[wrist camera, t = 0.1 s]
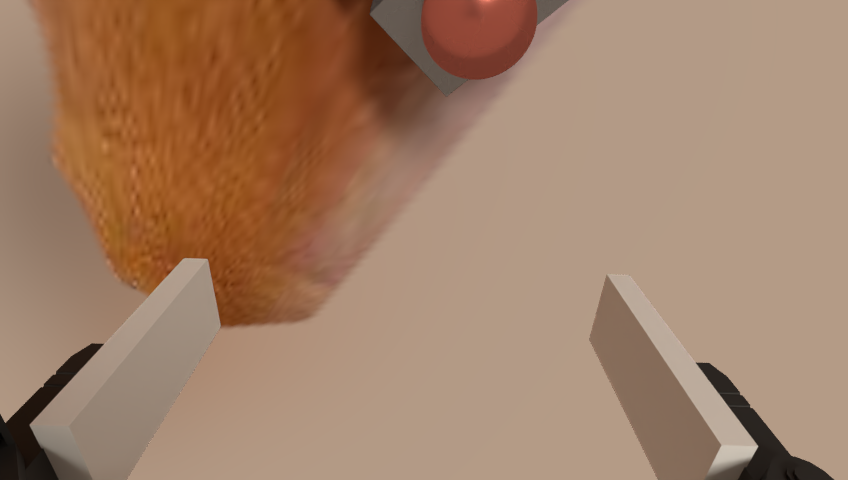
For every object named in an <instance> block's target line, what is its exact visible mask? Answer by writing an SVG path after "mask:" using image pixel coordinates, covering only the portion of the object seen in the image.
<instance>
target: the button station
mask: <svg viewBox="0 0 848 480" xmlns="http://www.w3.org/2000/svg"><path fill="white" fill-rule="evenodd" d="M567 1H568V0H373V2H372V6H371V10H370V15H371V16H372V17H373V19H374V20H375V21H376V22H377V23H378V24H379V25H380V26H381V27H382V28H383V29H384V30H385V31H386V32H387V34H388V35H389V36H390V37H391V38H392V39H393V40H394V41H395V42H396V43H397V44H398V45H399V46H400V47H401V49H402V50H403V51H404V52H405V53H406V54H407V55H408V56H409V57H410V58H411V59H412V60H413V61H414V62H415V64H416V65H417V66H418V67H419V68H420V69H421V70H422V71H423V72H424V73H425V74H426V75H427V76H428V77H429V79H430V80H431V81H432V82H433V83H434V84H435V85H436V86H437V87H438V88H439V89H440V90H441V91H442V92H443V94H444V95H445V96H446V97H447V96H448V95H449V94H450V93H452V92H453V91H454V90H456V89H457V88H458V87H459V86H461V85H462V84H463V83H464V82H466V81H467V80H468V79H485V78H489V77H493V76H496V75H498V74H500V73H502V72H504V71H506V70H507V69H509V68H510V67H512V66H513V65H514V64H515V63H516V62H517V61H518V60H519V59H520V58H521V57H522V56H523V55H524V53H525V52H526V51H527V49H528V47H529V45H530V44H531V41H532V39H533V37H534V34H535V30H536V26H537V25H538V24H539V23H540V22H542V21H543V20H544V19H545V18H547V17H548V16H549V15H550V14H552V13H553V12H554V11H555V10H557V9H558V8H559V7H561V6H562V5H563V4H564V3H566V2H567Z"/></svg>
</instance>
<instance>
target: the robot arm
mask: <svg viewBox="0 0 848 480" xmlns="http://www.w3.org/2000/svg"><path fill="white" fill-rule="evenodd" d="M220 328H221V324H220V319H219V314H218V309H217V304H216V299H215V294H214V288H213V283H212V278H211V273H210V268H209V263H208V259H195V258H184V259H183V260H182V261H181V262H180V263H179V264H178V265H177V266H176V267H175V268H174V269H173V270H172V271H171V273H170V274H169V275H168V276H167V277H166V278H165V279H164V280H163V281H162V282H161V283H160V284H159V286H158V287H157V288H156V289H155V290H154V291H153V292H152V293H151V294H150V295H149V296H148V297H147V298H146V300H145V301H144V302H143V303H142V304H141V305H140V306H139V307H138V308H137V309H136V310H135V311H134V313H133V314H132V315H131V316H130V317H129V318H128V319H127V320H126V321H125V322H124V323H123V325H122V326H121V327H120V328H119V329H118V330H117V331H116V332H115V333H114V334H113V335H112V336H111V337H110V338H109V340H108V341H107V342H106V343H105V344H90V345H89V346H87V347H86V348H84V349H82V350H81V351H79V352H78V353H76V354H74V355H73V356H71V357H70V358H69V359H68V360H67V361H66V362H65V363H64V364H63V366H61V367H60V368H59V369H58V370H57V371H56V375H53V376H51V378H49V380H48V381H46V383H45V384H44V387H41V388H40V389H39V390H38V391H37V392H36V393H35V394H34V395H33V396H32V397H31V398H30V399H29V400H28V401H27V402H26V403H25V404H24V405H23V406H22V407H21V408H20V409H19V410H18V411H17V412H16V413H15V414H14V415H13V416H12V417H11V418H10V419H9V420H8V421H7V422H6V423H5V422H4V420H3V418H2V416H1V415H0V480H127V478H128V476H129V475H130V473H131V472H132V470H133V468H134V467H135V465H136V463H137V462H138V460H139V459H140V457H141V455H142V454H143V452H144V451H145V449H146V447H147V446H148V444H149V442H150V441H151V439H152V438H153V436H154V434H155V433H156V431H157V430H158V428H159V426H160V425H161V423H162V421H163V420H164V418H165V416H166V415H167V413H168V412H169V410H170V408H171V407H172V405H173V404H174V402H175V400H176V399H177V397H178V396H179V394H180V392H181V391H182V389H183V387H184V386H185V384H186V382H187V381H188V379H189V378H190V376H191V374H192V373H193V371H194V370H195V368H196V366H197V364H198V363H199V362H200V360H201V358H202V356H203V355H204V353H205V352H206V350H207V349H208V347H209V345H210V344H211V342H212V340H213V339H214V337H215V336H216V334H217V332H218V331H219V329H220ZM589 340H590V342H591V344H592V346H593V348H594V350H595V352H596V354H597V356H598V358H599V360H600V362H601V365H602V366H603V369H604V371H605V373H606V375H607V377H608V379H609V381H610V383H611V385H612V387H613V389H614V391H615V393H616V395H617V397H618V399H619V401H620V403H621V405H622V407H623V409H624V411H625V413H626V415H627V418H628V420H629V422H630V424H631V426H632V428H633V430H634V432H635V434H636V436H637V438H638V440H639V442H640V444H641V446H642V448H643V450H644V452H645V454H646V456H647V458H648V460H649V462H650V464H651V466H652V469H653V471H654V473H655V475H656V477H657V478H658V480H834V479H833V478H831V477H830V476H829V475H828V474H827V473H826V472H825V471H823V470H822V469H820V468H818V467H817V466H815V465H813V464H812V463H810V462H807V461H805V460H802V459H800V458H797V457H793V456H791V455H790V454H789V453H788V451H787V450H786V449H785V448H784V446H783V445H782V444H781V443H780V441H779V440H778V439H777V438H776V437H775V435H774V434H773V433H772V432H771V430H770V429H769V428H768V427H767V425H766V424H765V423H764V422H763V420H762V419H761V418H760V417H759V415H758V414H757V413H756V412H755V410H754V409H753V408H750V404H749V403H748V402H747V401H746V399H745V398H744V397H743V396H742V395H740V392H739V391H738V389H737V388H736V387H735V386H734V385H733V383H732V382H731V381H730V380H729V378H728V377H727V376H726V375H724V374H723V373H721V372H720V371H719V370H717V369H716V368H715V367H714V366H712V365H711V364H710V363H695V362H694V360H693V359H692V358H691V356H690V355H689V354H688V352H687V351H686V350H685V348H684V347H683V346H682V344H681V343H680V342H679V340H678V339H677V338H676V336H675V335H674V334H673V332H672V331H671V330H670V328H669V327H668V326H667V324H666V323H665V322H664V320H663V319H662V318H661V316H660V315H659V314H658V312H657V311H656V310H655V308H654V307H653V306H652V304H651V303H650V302H649V300H648V299H647V298H646V296H645V295H644V294H643V293H642V291H641V290H640V289H639V287H638V286H637V284H636V283H635V282H634V280H633V279H632V278H631V276H630V275H617V274H607V275H606V279H605V282H604V286H603V290H602V293H601V297H600V301H599V305H598V309H597V312H596V316H595V320H594V323H593V327H592V331H591V334H590V338H589Z"/></svg>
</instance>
